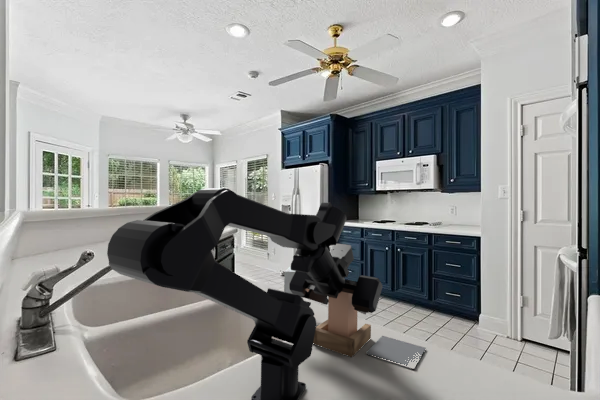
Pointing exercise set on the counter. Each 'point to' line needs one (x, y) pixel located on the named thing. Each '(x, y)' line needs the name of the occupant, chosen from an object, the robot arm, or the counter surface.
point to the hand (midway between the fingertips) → (345, 307)
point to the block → (342, 315)
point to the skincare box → (288, 279)
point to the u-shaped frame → (341, 339)
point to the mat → (395, 350)
